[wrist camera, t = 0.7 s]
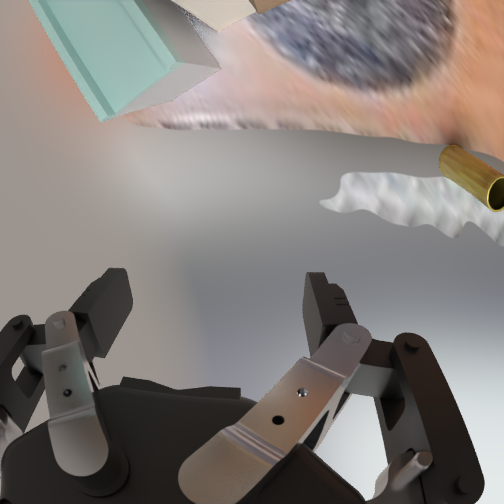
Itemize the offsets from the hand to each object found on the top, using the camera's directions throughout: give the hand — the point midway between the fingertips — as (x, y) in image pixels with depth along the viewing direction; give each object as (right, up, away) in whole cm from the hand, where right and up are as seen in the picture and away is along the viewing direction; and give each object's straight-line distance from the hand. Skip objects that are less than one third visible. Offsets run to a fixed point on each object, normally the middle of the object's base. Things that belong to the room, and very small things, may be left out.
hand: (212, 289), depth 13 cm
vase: (+35, +17, +27) cm, 48 cm away
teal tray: (-14, +26, +5) cm, 30 cm away
